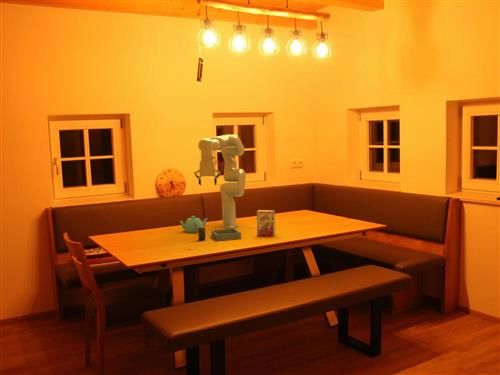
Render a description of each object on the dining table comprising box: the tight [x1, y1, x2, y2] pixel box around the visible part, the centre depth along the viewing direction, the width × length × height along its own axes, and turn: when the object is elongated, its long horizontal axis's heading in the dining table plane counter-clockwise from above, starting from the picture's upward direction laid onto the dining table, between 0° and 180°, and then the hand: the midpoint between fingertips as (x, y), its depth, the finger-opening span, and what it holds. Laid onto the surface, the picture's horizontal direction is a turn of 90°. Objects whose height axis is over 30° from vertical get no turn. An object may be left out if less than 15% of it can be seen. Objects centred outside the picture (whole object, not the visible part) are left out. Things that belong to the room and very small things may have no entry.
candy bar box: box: [256, 209, 276, 237], centre depth 338 cm, size 11×5×16 cm, turn 70°
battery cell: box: [197, 226, 206, 242], centre depth 330 cm, size 4×4×9 cm
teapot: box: [179, 215, 208, 234], centre depth 361 cm, size 15×15×11 cm
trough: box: [210, 227, 242, 242], centre depth 336 cm, size 16×16×4 cm
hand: (207, 185), depth 336 cm, fingers open, 9 cm apart
